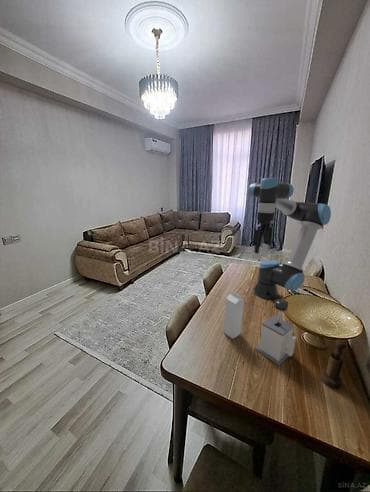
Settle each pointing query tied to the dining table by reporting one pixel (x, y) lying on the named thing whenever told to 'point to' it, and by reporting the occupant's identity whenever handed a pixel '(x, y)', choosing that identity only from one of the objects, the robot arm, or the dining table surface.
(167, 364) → the dining table surface
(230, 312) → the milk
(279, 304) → the dark gray domed cylinder
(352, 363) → the dining table surface
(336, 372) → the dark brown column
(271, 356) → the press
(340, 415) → the dining table surface
